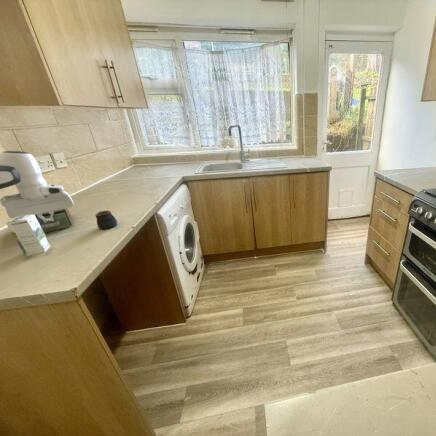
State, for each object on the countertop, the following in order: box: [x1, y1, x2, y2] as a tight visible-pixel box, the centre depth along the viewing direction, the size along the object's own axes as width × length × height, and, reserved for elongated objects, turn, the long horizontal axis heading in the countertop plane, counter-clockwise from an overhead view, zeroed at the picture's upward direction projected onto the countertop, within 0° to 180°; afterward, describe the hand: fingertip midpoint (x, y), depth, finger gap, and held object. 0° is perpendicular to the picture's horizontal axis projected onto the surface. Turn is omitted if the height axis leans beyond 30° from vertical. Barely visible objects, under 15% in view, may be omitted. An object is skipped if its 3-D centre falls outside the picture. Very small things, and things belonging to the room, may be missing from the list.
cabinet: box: [35, 208, 73, 227], centre depth 114 cm, size 17×13×9 cm
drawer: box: [36, 212, 71, 234], centre depth 111 cm, size 20×11×7 cm, turn 42°
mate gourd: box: [95, 210, 118, 231], centre depth 109 cm, size 7×8×10 cm
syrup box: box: [6, 214, 51, 257], centre depth 90 cm, size 6×6×14 cm
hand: (49, 221), depth 105 cm, fingers closed
